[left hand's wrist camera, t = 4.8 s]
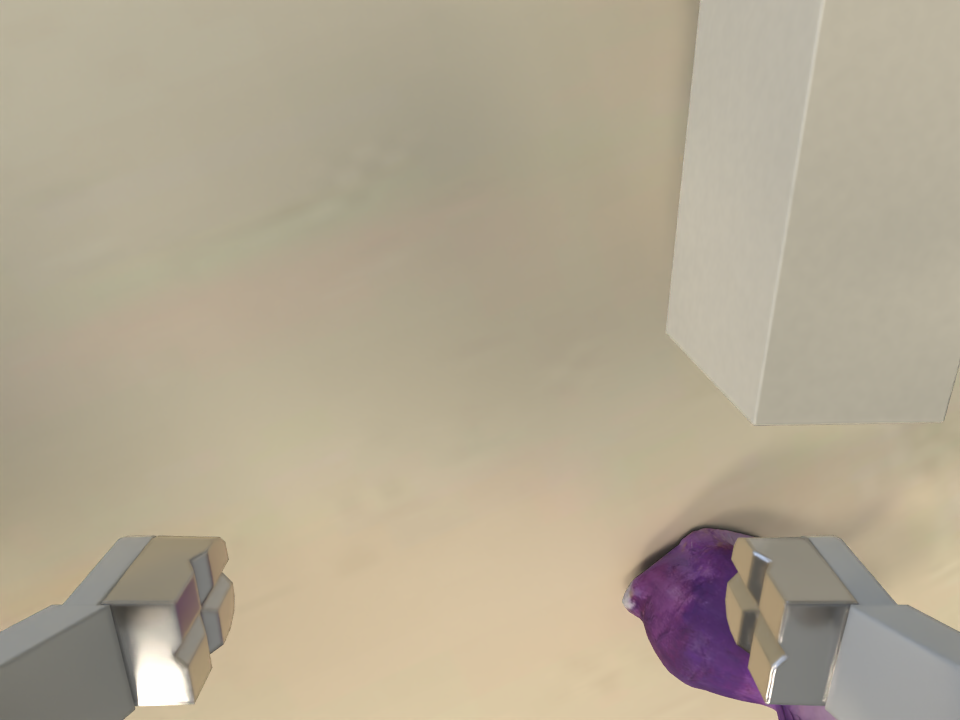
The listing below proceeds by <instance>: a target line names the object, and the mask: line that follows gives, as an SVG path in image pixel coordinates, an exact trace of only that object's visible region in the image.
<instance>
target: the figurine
mask: <svg viewBox="0 0 960 720" xmlns="http://www.w3.org/2000/svg"><path fill="white" fill-rule="evenodd" d="M737 538H755V537H752V536H749V535H743V534H741V533H736V532H732V531H728V530H720V529H713V528H703V529H700V530H697V531H692V532H691V533H690V534H689V535H687V536H686V537H685V538H683V539H682V540H681V542H680V543H679V545H678V546H676V547H675V548H674V549H672V550H671V551H670V552H668V553H667V554H666V555H664V556H663V557H662V558H660V559H659V560H658V561H657V562H655V563H654V564H653V565H652V566H650V567H649V568H648V569H647V570H646V571H644V572H643V573H641V574H640V575H639V576H637V577H636V578H635V579H634V580H633V581H632V582H631V584H630V585H629V587H628V588H627V590H626V592H625V594H624V597H623V599H622V603H623V604H624V606H625V608H626V609H627V610H628V611H629V612H630V613H632V614H634V615H635V616H637V617H639V618H640V619H641V620H642V621H643V623H644V626H645V630H646V633H647V636H648V639H649V641H650V643H651V645H652V647H653V649H654V651H655V652H656V654H657V656H658V657H659V659H660V660H661V662H662V663H663V665H664V666H665V667H666V668H667V670H668V671H669V672H670V673H671V674H673V675H674V676H675V677H677V678H678V679H679V680H681V681H682V682H684V683H685V684H687V685H689V686H691V687H694V688H698V689H703V690H707V691H709V692H712V693H715V694H718V695H722V696H725V697H729V698H733V699H737V700H741V701H746V702H751V703H757V704H762V705H765V706H768V707H770V708H772V709H774V710H775V711H777V714H778V719H779V720H837V719H836V718H835V717H834V716H832V715H831V714H830V713H829V712H828V711H827V710H825V706H806V705H771V704H765V702H764V700H763V697H762V695H761V693H760V691H759V689H758V687H757V685H756V683H755V681H754V679H753V677H752V675H751V673H750V671H749V669H748V664H749V658H750V654H749V653H748V652H746V651H745V650H744V649H742V648H741V647H739V646H738V645H737V644H736V642H735V640H734V638H733V636H732V633H731V631H730V628H729V624H728V620H727V615H726V603H725V598H726V590H727V583H728V581H729V580H730V579H731V578H732V577H733V576H734V575H735V574H736V573H737V572H738V571H737V569H736V567H735V565H734V563H733V562H732V560H731V558H732V552H733V547H734V544H735V542H736V540H737Z"/></svg>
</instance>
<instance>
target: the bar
mask: <svg viewBox="0 0 960 720" xmlns="http://www.w3.org/2000/svg"><path fill="white" fill-rule="evenodd" d="M666 334H667V335H668V336H669V337H670V338H671V339H672V340H673V341H674V342H675V343H676V344H677V346H678V347H679V348H680V349H681V350H682V351H683V352H684V353H685V354H686V355H687V356H688V357H689V358H690V359H691V360H692V361H693V362H694V363H695V365H696V366H697V367H698V368H699V369H700V370H701V371H702V372H703V373H704V374H705V375H706V376H707V377H708V378H709V379H710V380H711V381H712V382H713V384H714V385H715V386H716V387H717V388H718V389H719V390H720V391H721V392H722V393H723V394H724V395H725V396H726V397H727V398H728V399H729V400H730V402H731V403H732V404H733V405H734V406H735V407H736V408H737V409H738V410H739V411H740V412H741V413H742V414H743V415H744V416H745V417H746V418H747V419H748V421H749V422H750V423H751V424H752V425H754V426H775V425H837V424H898V423H942V422H943V421H944V419H945V415H946V411H947V408H948V404H949V401H950V397H951V393H952V390H953V386H954V383H955V379H956V375H957V372H958V368H959V364H960V0H700V8H699V17H698V27H697V37H696V46H695V56H694V65H693V75H692V85H691V94H690V104H689V113H688V123H687V133H686V142H685V152H684V161H683V171H682V180H681V190H680V200H679V209H678V219H677V228H676V238H675V248H674V257H673V267H672V276H671V286H670V296H669V305H668V315H667V324H666Z"/></svg>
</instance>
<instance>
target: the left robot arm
mask: <svg viewBox="0 0 960 720" xmlns="http://www.w3.org/2000/svg"><path fill="white" fill-rule="evenodd" d="M228 560H229V558H228V553H227V548H226V543H225V541H224V540H222V539H221V538H220V537H196V536H125V537H123V538H120V539H119V540H118V541H117V542H116V543H115V544H114V545H113V546H112V548H111V549H110V550H109V551H108V552H107V553H106V554H105V556H104V557H103V558H102V559H101V560H100V561H99V563H98V564H97V565H96V566H95V567H94V568H93V570H92V571H91V572H90V573H89V574H88V575H87V577H86V578H85V579H84V580H83V581H82V582H81V584H80V585H79V586H78V587H77V588H76V589H75V591H74V592H73V593H72V594H71V595H70V596H69V598H68V599H67V600H66V601H65V602H64V603H63V605H51V606H49V607H47V608H45V609H43V610H41V611H39V612H37V613H36V614H34V615H32V616H30V617H28V618H26V619H24V620H22V621H20V622H18V623H16V624H15V625H13V626H11V627H9V628H7V629H5V630H3V631H1V632H0V720H123V719H125V718H126V717H127V716H128V715H129V714H130V713H131V712H133V711H134V710H135V706H153V705H187V704H195V702H196V700H197V698H198V696H199V694H200V692H201V690H202V687H203V685H204V683H205V681H206V679H207V677H208V675H209V673H210V671H211V669H212V664H211V658H210V654H211V653H212V652H214V651H215V650H217V649H218V648H219V647H221V646H222V645H223V644H224V642H225V640H226V638H227V635H228V633H229V631H230V628H231V624H232V619H233V614H234V597H235V595H234V589H233V582H232V581H231V580H230V579H229V578H228V577H227V576H226V575H225V574H224V573H223V572H222V571H223V569H224V567H225V565H226V563H227V562H228ZM731 560H732V562H733V563H734V565H735V567H736V569H737V571H738V572H737V573H736V574H735V575H734V576H733V577H732V578H731V579H730V580H729V581H728V583H727V590H726V598H725V603H726V615H727V620H728V624H729V628H730V631H731V633H732V636H733V638H734V640H735V642H736V644H737V645H738V646H739V647H741V648H742V649H744V650H745V651H746V652H748V653H749V654H750V658H749V664H748V669H749V671H750V673H751V675H752V677H753V679H754V681H755V683H756V685H757V687H758V689H759V691H760V693H761V695H762V697H763V700H764V702H765V704H771V705H806V706H825V710H827V711H828V712H829V713H830V714H831V715H832V716H834V717H835V718H836V719H837V720H960V632H959V631H957V630H955V629H953V628H951V627H949V626H947V625H945V624H943V623H942V622H940V621H938V620H936V619H934V618H932V617H930V616H928V615H926V614H924V613H923V612H921V611H919V610H917V609H915V608H913V607H911V606H909V605H897V603H896V602H895V601H894V600H893V599H892V598H891V596H890V595H889V594H888V593H887V592H886V591H885V589H884V588H883V587H882V586H881V585H880V584H879V583H878V581H877V580H876V579H875V578H874V577H873V576H872V574H871V573H870V572H869V571H868V570H867V569H866V567H865V566H864V565H863V564H862V563H861V562H860V560H859V559H858V558H857V557H856V556H855V555H854V553H853V552H852V551H851V550H850V549H849V548H848V546H847V545H846V544H845V543H844V542H843V541H842V539H840V538H838V537H836V536H834V535H823V536H801V537H759V538H737V540H736V542H735V544H734V547H733V552H732V558H731Z"/></svg>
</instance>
